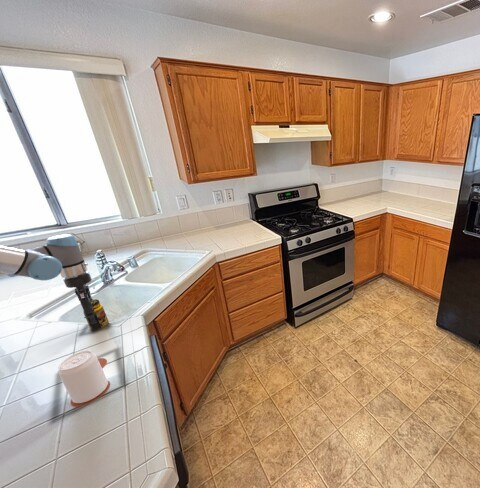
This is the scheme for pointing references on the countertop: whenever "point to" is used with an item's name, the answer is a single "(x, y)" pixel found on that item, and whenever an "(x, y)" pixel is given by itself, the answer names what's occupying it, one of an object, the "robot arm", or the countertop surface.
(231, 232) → the countertop surface
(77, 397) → the white upturned tub
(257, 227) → the countertop surface
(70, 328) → the countertop surface
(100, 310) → the condiment
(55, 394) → the countertop surface
